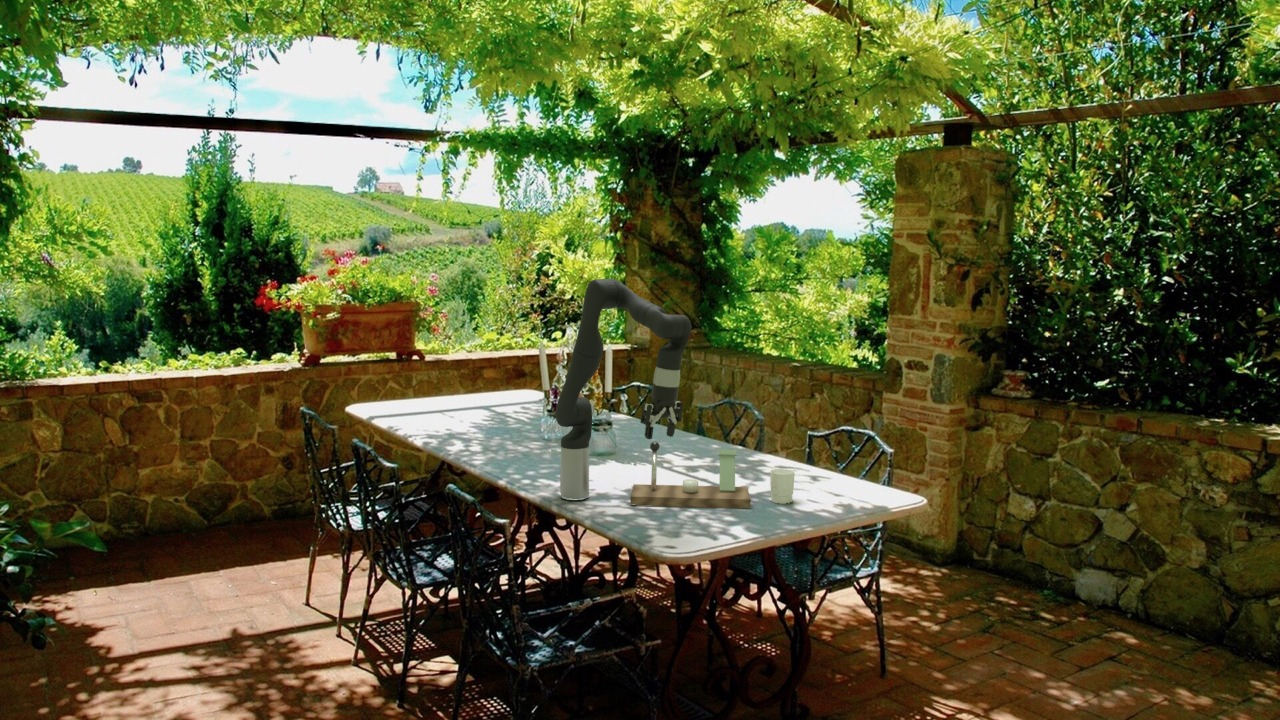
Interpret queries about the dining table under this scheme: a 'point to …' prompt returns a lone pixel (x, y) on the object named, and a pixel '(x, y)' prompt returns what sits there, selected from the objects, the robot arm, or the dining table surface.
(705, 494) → the walnut switch board
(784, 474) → the white cup
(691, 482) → the ivory push button
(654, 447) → the steel toggle lever
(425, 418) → the dining table surface
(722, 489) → the sage-green paddle lever
